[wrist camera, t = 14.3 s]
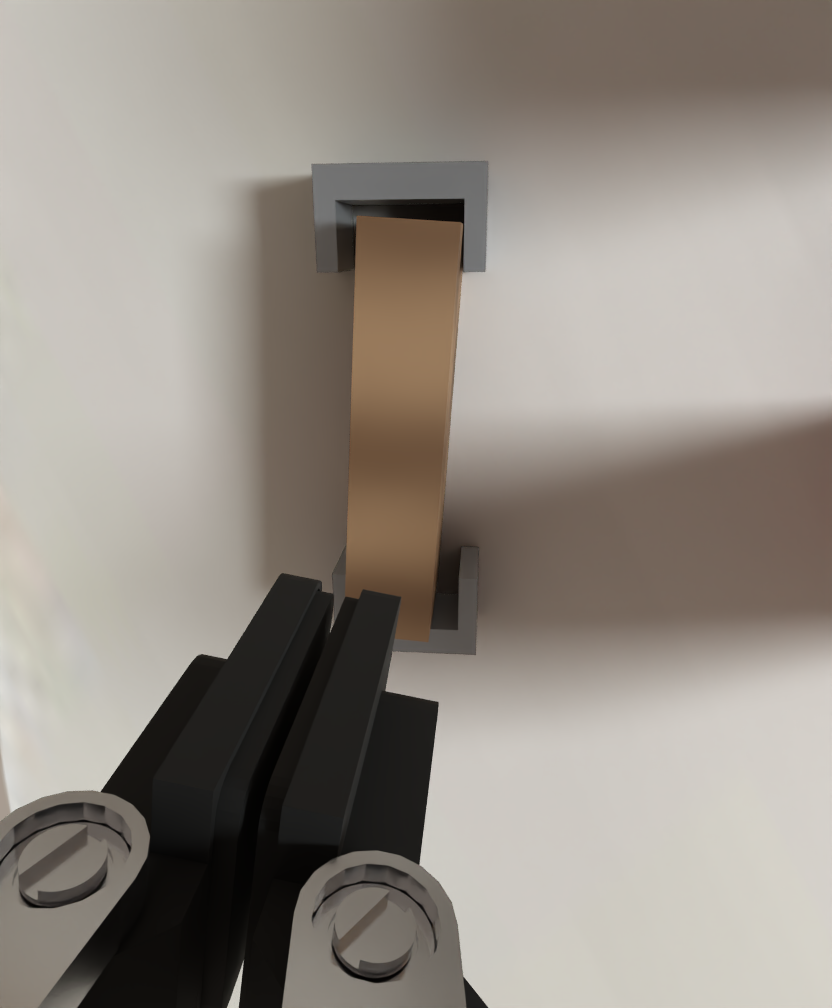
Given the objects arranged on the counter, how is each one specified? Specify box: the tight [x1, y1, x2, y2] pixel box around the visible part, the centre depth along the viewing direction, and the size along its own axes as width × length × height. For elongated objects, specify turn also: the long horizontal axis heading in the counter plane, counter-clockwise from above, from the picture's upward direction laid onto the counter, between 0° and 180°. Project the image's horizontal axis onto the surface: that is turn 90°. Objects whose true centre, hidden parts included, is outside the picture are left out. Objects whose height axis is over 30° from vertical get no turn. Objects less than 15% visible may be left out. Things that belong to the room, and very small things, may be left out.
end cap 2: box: [332, 544, 479, 655], centre depth 33 cm, size 4×6×4 cm, turn 90°
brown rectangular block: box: [345, 216, 464, 642], centre depth 30 cm, size 16×4×6 cm, turn 176°
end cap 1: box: [312, 161, 488, 272], centre depth 28 cm, size 4×6×4 cm, turn 90°
